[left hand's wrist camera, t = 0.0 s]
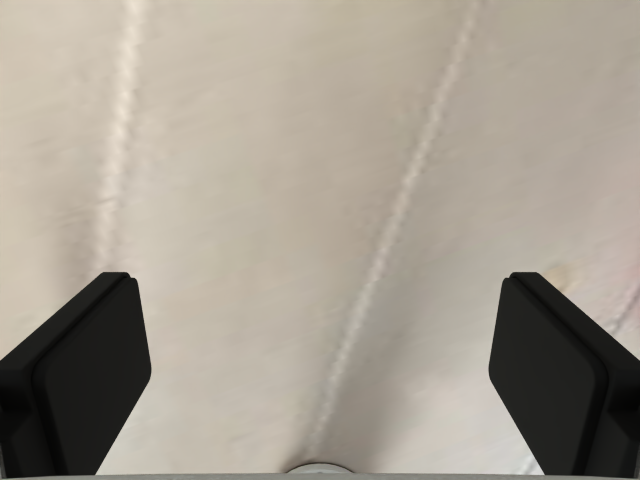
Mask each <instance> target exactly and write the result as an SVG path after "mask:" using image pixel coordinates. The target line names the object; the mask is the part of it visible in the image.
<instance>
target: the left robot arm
mask: <svg viewBox="0 0 640 480" xmlns="http://www.w3.org/2000/svg"><path fill="white" fill-rule="evenodd" d="M150 377H151V361H150V355H149V349H148V343H147V337H146V331H145V324H144V318H143V312H142V306H141V300H140V293H139V287H138V282H137V280H136V279H135V278H131V277H130V275H129V274H128V273H127V272H103V273H101V274H100V275H99V276H98V277H97V278H95V279H94V280H93V281H92V282H91V283H90V284H88V285H87V286H86V287H85V288H84V289H83V290H81V291H80V292H79V293H78V294H77V295H76V296H75V297H73V298H72V299H71V300H70V301H69V302H68V303H66V304H65V305H64V306H63V307H62V308H61V309H59V310H58V311H57V312H56V313H55V314H54V315H53V316H51V317H50V318H49V319H48V320H47V321H46V322H44V323H43V324H42V325H41V326H40V327H39V328H38V329H36V330H35V331H34V332H33V333H32V334H31V335H29V336H28V337H27V338H26V339H25V340H24V341H22V342H21V343H20V344H19V345H18V346H17V347H16V348H14V349H13V350H12V351H11V352H10V353H9V354H7V355H6V356H5V357H4V358H3V359H2V360H1V361H0V480H640V361H639V360H638V359H637V358H636V357H635V356H634V355H633V354H631V353H630V352H629V351H628V350H627V349H626V348H624V347H623V346H622V345H621V344H620V343H619V342H618V341H616V340H615V339H614V338H613V337H612V336H611V335H609V334H608V333H607V332H606V331H605V330H604V329H602V328H601V327H600V326H599V325H598V324H597V323H596V322H594V321H593V320H592V319H591V318H590V317H589V316H587V315H586V314H585V313H584V312H583V311H582V310H581V309H579V308H578V307H577V306H576V305H575V304H574V303H572V302H571V301H570V300H569V299H568V298H567V297H565V296H564V295H563V294H562V293H561V292H560V291H559V290H557V289H556V288H555V287H554V286H553V285H552V284H550V283H549V282H548V281H547V280H546V279H545V278H543V277H542V276H541V275H540V274H539V273H537V272H513V273H512V274H511V275H510V277H509V278H505V279H504V280H503V282H502V287H501V293H500V300H499V306H498V312H497V318H496V324H495V331H494V337H493V343H492V349H491V355H490V361H489V377H490V380H491V382H492V384H493V386H494V387H495V389H496V391H497V393H498V394H499V396H500V398H501V400H502V401H503V403H504V405H505V406H506V408H507V410H508V412H509V413H510V415H511V417H512V419H513V420H514V422H515V424H516V426H517V427H518V429H519V431H520V433H521V434H522V436H523V438H524V439H525V441H526V443H527V445H528V446H529V448H530V450H531V452H532V453H533V455H534V457H535V459H536V460H537V462H538V464H539V466H540V467H541V469H542V471H543V472H544V474H545V475H502V474H387V473H352V472H350V471H348V470H347V469H345V468H342V467H339V466H336V465H330V464H309V465H305V466H301V467H298V468H296V469H294V470H291V471H290V472H288V473H253V474H138V475H95V474H96V472H97V471H98V469H99V467H100V466H101V464H102V462H103V460H104V459H105V457H106V455H107V453H108V452H109V450H110V448H111V446H112V445H113V443H114V441H115V439H116V438H117V436H118V434H119V433H120V431H121V429H122V427H123V426H124V424H125V422H126V420H127V419H128V417H129V415H130V413H131V412H132V410H133V408H134V406H135V405H136V403H137V401H138V400H139V398H140V396H141V394H142V393H143V391H144V389H145V387H146V386H147V384H148V382H149V380H150Z"/></svg>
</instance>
